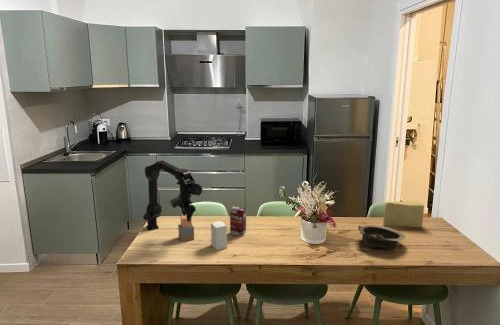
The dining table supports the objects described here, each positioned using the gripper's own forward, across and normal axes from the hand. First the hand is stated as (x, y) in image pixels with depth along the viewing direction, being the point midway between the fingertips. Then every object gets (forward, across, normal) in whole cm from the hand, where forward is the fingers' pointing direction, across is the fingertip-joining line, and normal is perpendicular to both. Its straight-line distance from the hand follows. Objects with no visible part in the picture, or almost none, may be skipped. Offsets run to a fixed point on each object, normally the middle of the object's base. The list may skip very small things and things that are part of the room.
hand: (186, 218), depth 216 cm
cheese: (+12, +38, +126) cm, 132 cm away
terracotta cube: (+4, 0, 0) cm, 4 cm away
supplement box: (+12, +7, +29) cm, 32 cm away
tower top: (+8, 0, 0) cm, 8 cm away
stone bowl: (+12, +53, +95) cm, 109 cm away
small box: (+12, +18, +13) cm, 25 cm away
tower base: (+12, 0, 0) cm, 12 cm away
